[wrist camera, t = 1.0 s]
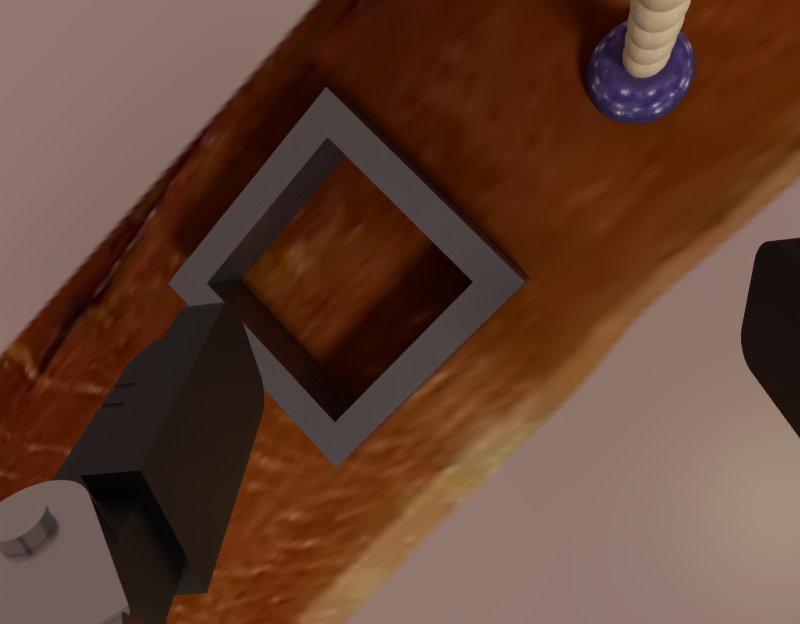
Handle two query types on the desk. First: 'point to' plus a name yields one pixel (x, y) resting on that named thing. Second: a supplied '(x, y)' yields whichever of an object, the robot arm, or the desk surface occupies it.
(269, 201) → the square frame
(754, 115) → the desk surface
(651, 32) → the toy lamp
